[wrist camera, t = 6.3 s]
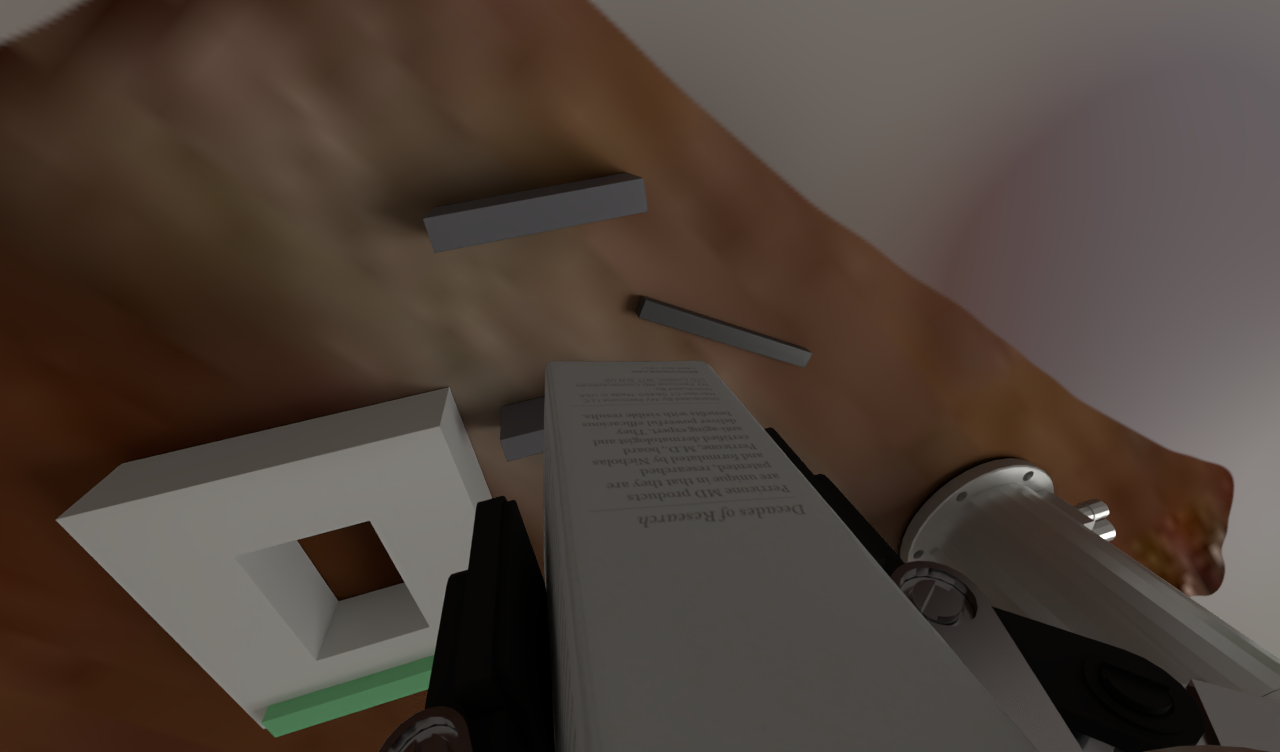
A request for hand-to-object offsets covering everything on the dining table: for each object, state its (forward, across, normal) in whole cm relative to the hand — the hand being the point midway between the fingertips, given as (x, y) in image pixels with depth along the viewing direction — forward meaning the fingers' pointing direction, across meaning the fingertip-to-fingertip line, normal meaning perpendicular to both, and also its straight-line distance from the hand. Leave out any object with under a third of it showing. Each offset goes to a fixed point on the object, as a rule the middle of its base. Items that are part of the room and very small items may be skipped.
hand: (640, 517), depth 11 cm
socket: (+14, +14, +9) cm, 21 cm away
